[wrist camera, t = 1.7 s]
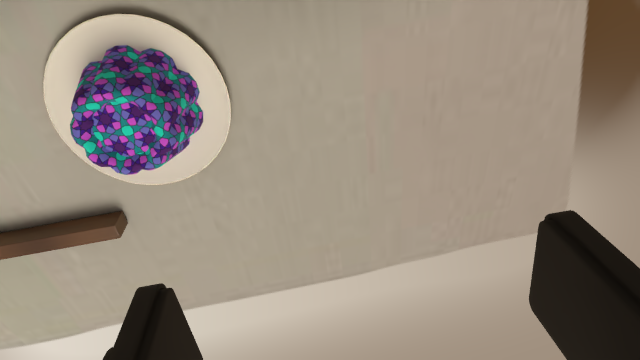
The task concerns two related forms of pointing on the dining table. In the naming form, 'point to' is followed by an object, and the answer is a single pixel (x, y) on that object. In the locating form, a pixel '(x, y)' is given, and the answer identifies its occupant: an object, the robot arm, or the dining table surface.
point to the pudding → (137, 99)
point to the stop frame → (62, 235)
